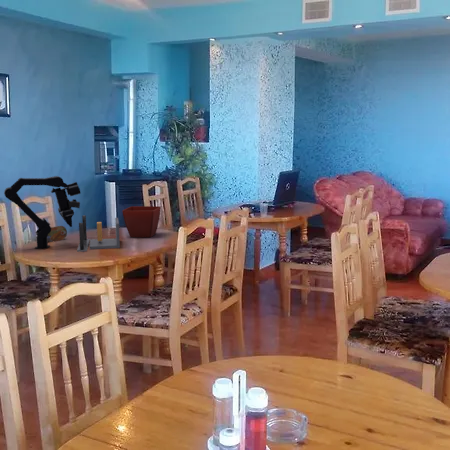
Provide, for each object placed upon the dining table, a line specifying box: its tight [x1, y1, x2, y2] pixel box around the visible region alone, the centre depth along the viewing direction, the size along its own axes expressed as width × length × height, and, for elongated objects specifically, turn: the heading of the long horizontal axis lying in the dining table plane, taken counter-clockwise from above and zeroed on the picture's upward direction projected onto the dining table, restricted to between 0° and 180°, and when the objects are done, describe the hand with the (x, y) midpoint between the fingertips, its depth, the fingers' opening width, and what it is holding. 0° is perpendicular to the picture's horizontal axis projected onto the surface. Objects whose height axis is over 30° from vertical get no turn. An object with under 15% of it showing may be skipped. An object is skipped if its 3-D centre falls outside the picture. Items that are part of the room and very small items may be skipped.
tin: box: [47, 225, 68, 243], centre depth 354 cm, size 15×3×8 cm, turn 143°
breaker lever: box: [96, 221, 103, 243], centre depth 339 cm, size 2×5×11 cm, turn 11°
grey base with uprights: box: [89, 217, 121, 250], centre depth 339 cm, size 16×22×14 cm
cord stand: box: [76, 215, 90, 253], centre depth 337 cm, size 5×32×15 cm, turn 10°
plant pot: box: [121, 205, 162, 238], centre depth 367 cm, size 19×19×17 cm
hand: (69, 225), depth 338 cm, fingers open, 9 cm apart
